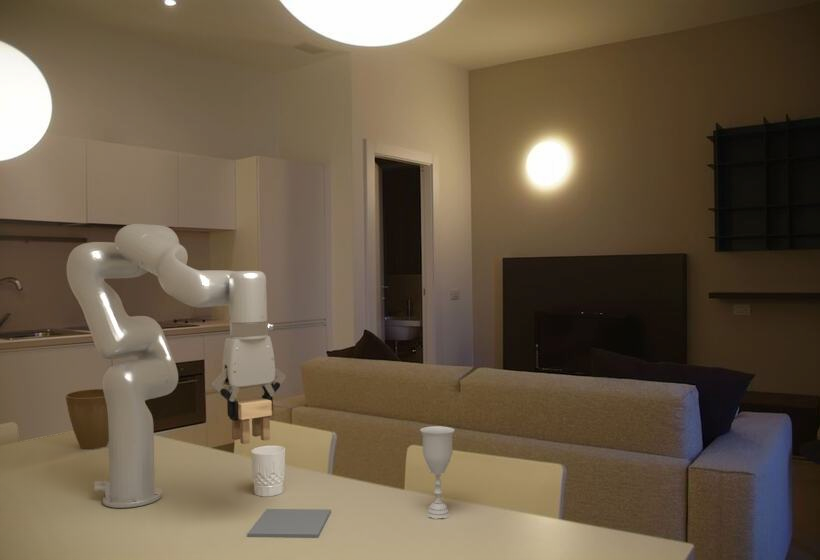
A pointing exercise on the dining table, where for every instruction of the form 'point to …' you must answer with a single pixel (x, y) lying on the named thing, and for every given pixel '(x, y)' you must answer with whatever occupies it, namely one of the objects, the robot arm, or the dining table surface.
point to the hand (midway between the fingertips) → (250, 416)
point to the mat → (290, 523)
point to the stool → (260, 417)
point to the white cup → (268, 470)
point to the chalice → (437, 462)
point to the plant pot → (89, 417)
